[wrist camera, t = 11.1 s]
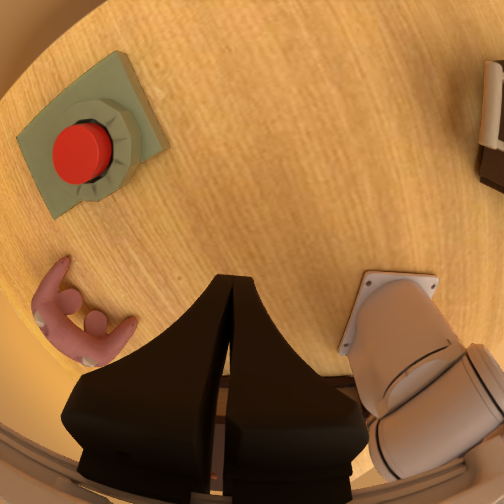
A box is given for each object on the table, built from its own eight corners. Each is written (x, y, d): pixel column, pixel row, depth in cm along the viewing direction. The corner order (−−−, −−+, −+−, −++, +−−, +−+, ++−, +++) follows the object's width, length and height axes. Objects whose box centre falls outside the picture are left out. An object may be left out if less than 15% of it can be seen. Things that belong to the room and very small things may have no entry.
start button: (98, 111, 14) (83, 113, 12) (121, 160, 15) (108, 166, 14) (60, 142, 15) (44, 146, 13) (81, 187, 16) (67, 195, 14)
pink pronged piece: (60, 264, 24) (19, 315, 20) (64, 248, 21) (15, 308, 16) (130, 326, 27) (97, 380, 23) (145, 321, 24) (106, 384, 20)
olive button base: (126, 53, 15) (103, 45, 12) (175, 156, 18) (159, 166, 15) (28, 134, 17) (1, 141, 14) (69, 220, 20) (45, 237, 17)
